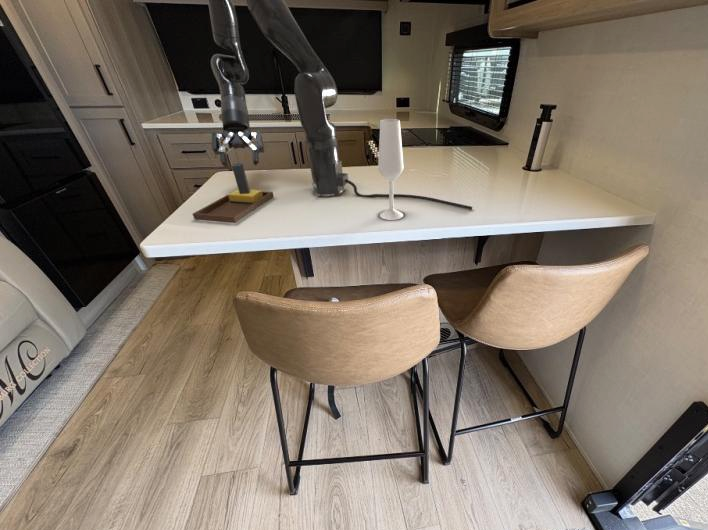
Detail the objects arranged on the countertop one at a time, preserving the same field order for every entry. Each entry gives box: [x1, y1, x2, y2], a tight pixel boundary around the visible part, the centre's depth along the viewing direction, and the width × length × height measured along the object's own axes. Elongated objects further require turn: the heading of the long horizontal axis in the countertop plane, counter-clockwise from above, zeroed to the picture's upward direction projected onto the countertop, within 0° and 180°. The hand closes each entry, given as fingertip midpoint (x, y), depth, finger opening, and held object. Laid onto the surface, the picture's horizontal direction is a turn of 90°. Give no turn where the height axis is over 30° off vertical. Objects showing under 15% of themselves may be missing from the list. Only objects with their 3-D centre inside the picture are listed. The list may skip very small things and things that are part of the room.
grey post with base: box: [227, 163, 263, 204], centre depth 99 cm, size 8×6×11 cm
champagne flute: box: [377, 118, 404, 221], centre depth 87 cm, size 7×7×24 cm
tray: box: [192, 191, 275, 224], centre depth 97 cm, size 13×21×2 cm, turn 168°
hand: (240, 164), depth 100 cm, fingers open, 8 cm apart
